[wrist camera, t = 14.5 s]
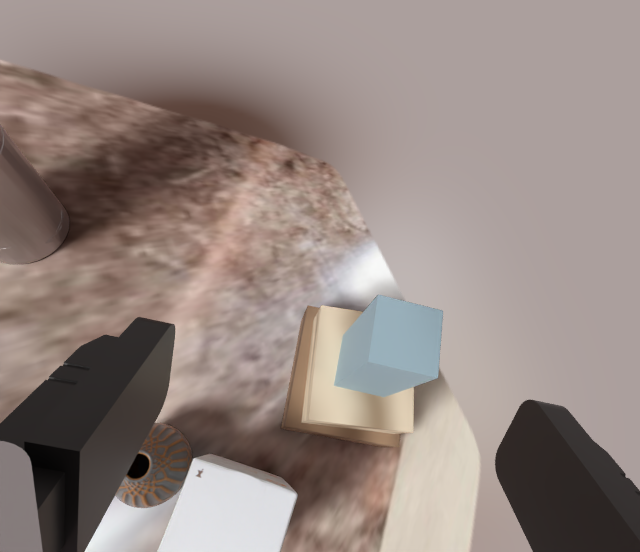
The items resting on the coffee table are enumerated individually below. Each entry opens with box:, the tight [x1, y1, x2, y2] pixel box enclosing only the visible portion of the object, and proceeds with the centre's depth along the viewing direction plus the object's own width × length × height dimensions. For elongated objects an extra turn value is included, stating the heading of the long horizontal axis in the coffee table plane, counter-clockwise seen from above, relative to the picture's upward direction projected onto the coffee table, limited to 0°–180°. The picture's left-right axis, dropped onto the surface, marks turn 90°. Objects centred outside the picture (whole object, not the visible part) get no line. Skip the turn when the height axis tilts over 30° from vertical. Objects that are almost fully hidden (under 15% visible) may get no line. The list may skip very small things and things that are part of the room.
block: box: [334, 295, 443, 397], centre depth 31 cm, size 4×4×11 cm
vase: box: [115, 423, 192, 508], centre depth 36 cm, size 7×7×9 cm
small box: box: [157, 454, 298, 552], centre depth 34 cm, size 8×6×13 cm
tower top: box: [301, 305, 414, 434], centre depth 38 cm, size 9×10×5 cm
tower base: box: [281, 306, 400, 447], centre depth 44 cm, size 11×12×6 cm
